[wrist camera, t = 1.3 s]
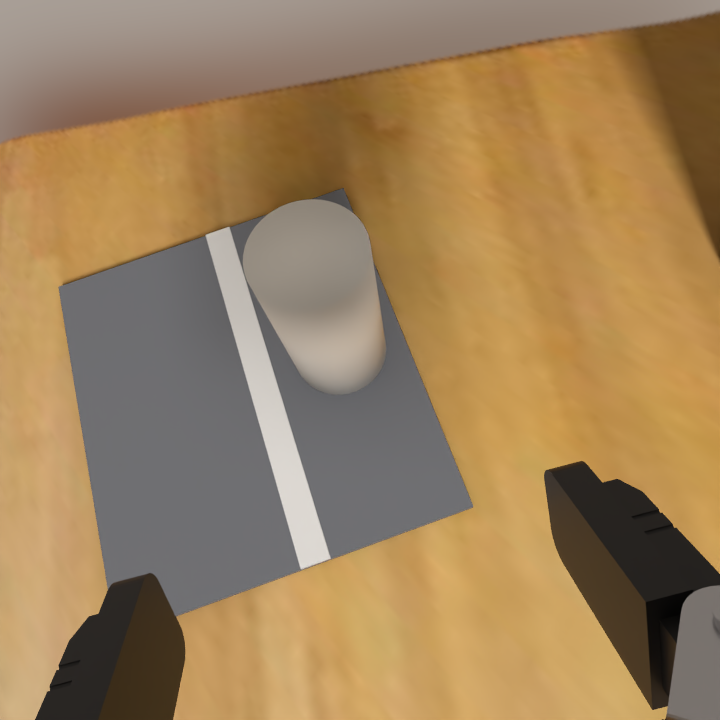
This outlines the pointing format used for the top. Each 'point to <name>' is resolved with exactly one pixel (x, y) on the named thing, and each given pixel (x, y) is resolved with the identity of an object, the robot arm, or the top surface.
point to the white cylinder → (319, 292)
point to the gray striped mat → (237, 430)
